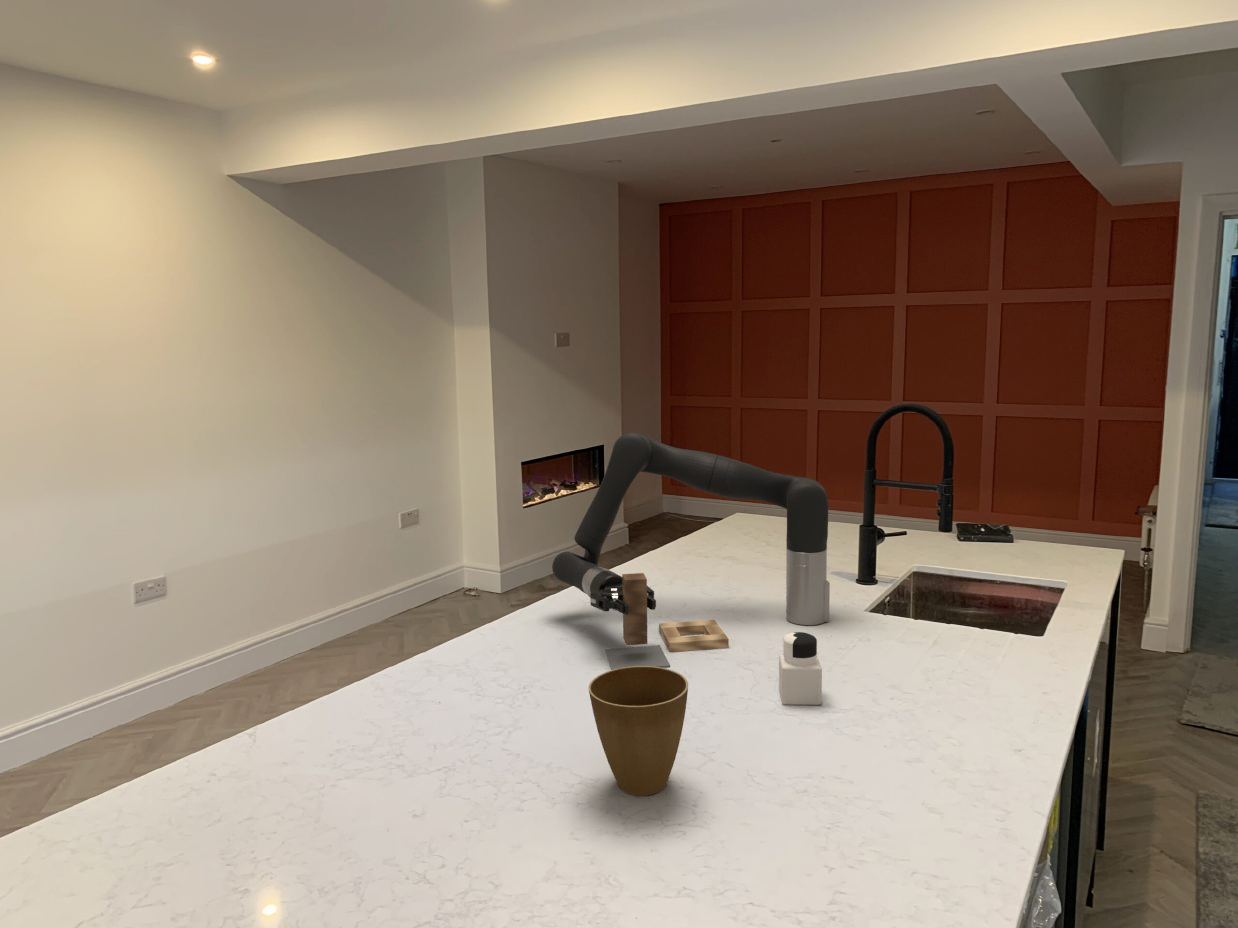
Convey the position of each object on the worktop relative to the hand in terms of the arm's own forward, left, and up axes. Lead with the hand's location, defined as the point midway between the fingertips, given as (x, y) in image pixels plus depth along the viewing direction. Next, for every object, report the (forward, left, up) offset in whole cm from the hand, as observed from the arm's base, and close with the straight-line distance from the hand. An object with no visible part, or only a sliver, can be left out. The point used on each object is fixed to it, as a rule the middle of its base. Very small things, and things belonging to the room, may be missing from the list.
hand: (640, 607), depth 179 cm
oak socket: (-13, -11, -12) cm, 21 cm away
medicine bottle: (-26, +23, -12) cm, 37 cm away
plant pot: (+8, +49, -12) cm, 51 cm away
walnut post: (+1, -2, -8) cm, 8 cm away
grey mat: (+1, -2, -12) cm, 12 cm away
